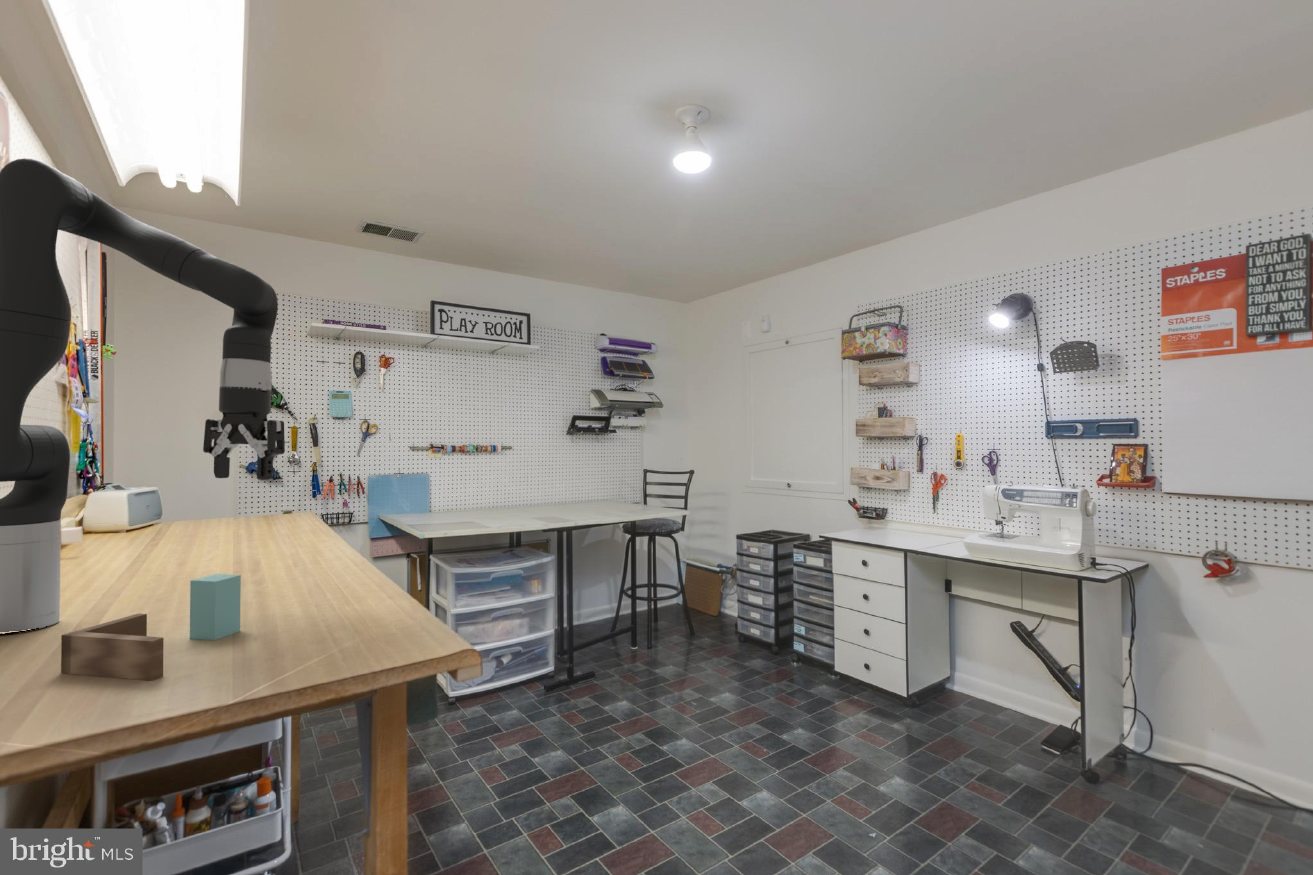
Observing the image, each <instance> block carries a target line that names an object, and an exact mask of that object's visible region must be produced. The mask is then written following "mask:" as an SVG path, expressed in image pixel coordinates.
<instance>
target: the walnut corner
mask: <svg viewBox="0 0 1313 875" xmlns="http://www.w3.org/2000/svg"><path fill="white" fill-rule="evenodd" d="M147 621H148V614H147V613H136V614H132V615H127V616H124V617H121V618H117V619H114V620H110V621H107V622H103V623H99V624H96V625H92V626H89V627H85V628H82V629H78V630H75V631H70V632H67V633H64V634H61V638H60V639H61V641H60V642H61V644H60V645H61V647H60V648H61V650H60V651H61V653H60V654H61V655H60V658H61V659H60V673H61V674H66V675H67V674H69V675H80V676H91V677H104V678H105V677H106V678H115V679H126V680H127V679H129V680H140V681H154V680H157V679H159V678H161V677H164V640H165V638H164V637H160V636H149V635H147V632H148V631H147V629H148V628H147V627H148V622H147Z"/></svg>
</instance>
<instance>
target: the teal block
mask: <svg viewBox="0 0 1313 875" xmlns="http://www.w3.org/2000/svg"><path fill="white" fill-rule="evenodd" d="M241 578H242V575H241V574H227V573H226V574H222V573H216V574H210V575H207V576H203V577H199V578H194V579H191V580H190V584H189V588H190V590H189V593H190V594H189V596H190V597H189V600H190V601H189V639H192V640H205V641H206V640H207V641H217V640H220V639H222V638H225V637H229V636H230V635H233V634H236V633H239V632H240V631H241V598H242V596H241V592H242V591H241V589H242V588H241V586H242V582H241V580H242V579H241Z"/></svg>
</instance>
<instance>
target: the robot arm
mask: <svg viewBox="0 0 1313 875" xmlns="http://www.w3.org/2000/svg"><path fill="white" fill-rule="evenodd" d="M59 231H61V232H66V233H69V234H71V235H74V236H79V237H82V238H85V239H88V240H91V241H92V242H93V241H94V242H97V243H100V244H101V245H104V246H108V247H109V248H112V249H114V250H116V251H119V252H120V253H122V254H124V255H126V256H127V257H129V258H131V259H133V260H134V261H136V262H137V263H139V264H140V265H142V266H144V267H147V268H148V269H150V270H151V271H154V272H155V273H157V274H159V275H162V276H163V277H166V278H167V279H169V280H172V281H174V282H176V283H178V284H180V285H182V286H184V287H187V288H189V289H191V290H194V291H198V292H201V293H203V294H205V295H206V296H209V297H210V298H212V299H215V300H216V301H218V302H220V303H222V304H223V305H226V306H227V307H229V308H231V309H233V317H232V322H231V326H230V327H227V328H226V329H225V331H224V332H223V337H222V355H221V356H222V362H221V366H220V371H219V390H218V391H219V394H218V411H219V412H220V413H222V418H221V419H213V418H212V419H210V418H207V419H206V420H205V424H204V432H203V433H204V434H203V435H204V437H203V446H202V447H203V448H202V451H203V453H205V454H206V453H207V454H210V455H212V457H213V475H214V477H215V479H229V477H230V466H231V464H230V462H231V457H230V454H231V453H232V452H233V450H234V449H235V448H237V447H239V445H248V446H249V447H251V448H252V449H254V450H255V452H256V455H257V456H258V457H259V458H257V462H256V463H257V470H256V479H257V480H259V481H267V480H271V478H272V475H273V472H274V471H273V470H274V458H275V457H277V456H279V455H283V454H285V451H286V449H285V448H286V446H285V422H284V421H283V420H279V419H269V420H268V415H269V414H271V412H272V411H271V410H272V409H271V408H272V384H273V383H272V382H273V380H272V378H273V375H272V368H271V367H272V366H271V363H272V362H271V360H272V358H271V357H272V356H271V353H272V342H271V340H272V336H273V332H274V329H275V325H276V322H277V321H276V320H277V317H278V316H277V315H278V309H279V308H278V306H279V303H278V302H279V301H278V296H277V293H276V291H275V289H274V288H273V287H272V286H271V285H270V284H269V283H268V282H267V281H265V280H264V279H263V278H261V277H260V276H259V275H257V274H255V273H254V272H251V271H250V270H247V269H245V268H244V267H242V266H240V265H237V264H234V263H231V262H230V261H227V260H225V259H222V258H219V257H216V256H215V255H213V254H212V253H210V252H208V251H207V250H204V249H202V248H201V247H198V246H197V245H195V244H193V243H190V242H188V241H186V240H185V239H182V238H180V237H179V236H176V235H174V234H171V233H169V232H167V231H164V230H162V229H160V228H157V227H154V226H152V225H149V224H146V223H145V222H143V221H140V220H138V219H136V218H133V216H130V215H128V214H126V213H125V212H123V211H121V210H119V209H117V207H114V206H113V205H112V204H110V203H108V202H107V201H106V200H104V199H103V198H102V197H100V196H99V195H97V194H96V193H94V192H93V191H91V190H90V189H88V188H87V187H86V186H85V185H84V184H82V183H81V182H80V181H78V180H77V179H75V178H74V177H72V176H69V175H67V174H66V173H64V172H62V171H61V170H58V169H57V168H55V167H53V166H51V165H49V164H47V163H45V162H43V161H39V160H37V159H33V158H17V159H14V160H11V161H10V162H8V163H7V164H5V165H4V166H3V167H2V169H1V170H0V482H1V483H2V482H3V483H5V482H14V485H13V488H12V490H11V491H9V493H8V494H6V495H5V496H4V497H1V498H0V632H9V631H22V630H28V629H35V630H37V629H36V628H39V629H43V628H45V627H46V626H47V627H51V626H52V625H55V624H57V623H59V622H60V607H61V606H60V605H61V601H60V600H61V556H62V555H61V553H62V552H61V551H62V550H61V546H62V545H61V544H62V540H61V538H62V536H61V531H62V530H61V529H62V526H61V525H62V510H63V508H64V506H65V504H66V501H67V497H68V491H69V490H68V487H69V477H70V475H69V474H70V465H71V461H70V460H71V452H70V451H71V450H70V446H69V441H68V439H67V437H66V436H65V435H64V433H63V432H62V430H59V429H58V428H56V427H54V426H50V425H40V424H39V425H38V424H21V422H22V421H21V420H22V416H23V411H24V408H25V404H26V402H27V398H29V395H30V394H31V392H32V391H33V389H35V387H36V385H37V384H38V383H39V382H40V381H41V380H42V379H43V378H44V377H45V376H46V375H48V373H49V372H50V371H51V370H52V369H54V367H55V366H56V365H57V363H58V362H59V361H60V360H61V359H62V358H63V356H64V354H65V353H66V351H67V348H68V343H69V339H70V330H71V321H72V309H71V304H70V298H69V295H68V292H67V289H66V287H65V284H64V281H63V278H62V276H61V273H60V269H59V266H58V261H57V250H56V249H57V248H56V247H57V240H58V232H59ZM212 444H213V445H212Z"/></svg>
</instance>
